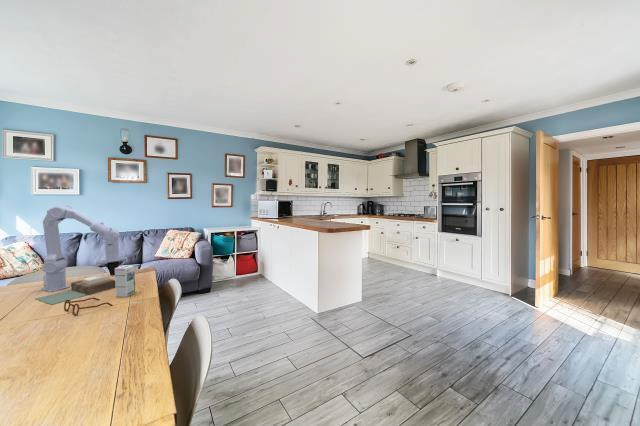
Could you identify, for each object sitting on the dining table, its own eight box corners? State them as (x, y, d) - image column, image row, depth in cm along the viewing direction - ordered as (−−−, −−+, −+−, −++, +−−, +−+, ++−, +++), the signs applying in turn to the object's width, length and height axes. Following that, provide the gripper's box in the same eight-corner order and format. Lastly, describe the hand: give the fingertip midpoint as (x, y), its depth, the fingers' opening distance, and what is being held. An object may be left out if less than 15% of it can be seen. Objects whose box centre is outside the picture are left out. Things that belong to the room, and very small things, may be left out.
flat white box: (82, 282, 135) (82, 278, 135) (102, 278, 143) (102, 274, 143) (88, 284, 133) (88, 280, 133) (108, 279, 141) (108, 275, 141)
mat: (34, 299, 123) (34, 298, 123) (70, 290, 134) (70, 289, 134) (51, 304, 116) (51, 304, 116) (87, 295, 128) (87, 294, 128)
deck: (71, 290, 135) (71, 282, 135) (98, 283, 146) (98, 276, 146) (88, 295, 129) (88, 287, 128) (115, 287, 140) (115, 280, 139)
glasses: (63, 310, 111) (62, 299, 111) (99, 300, 123) (99, 290, 123) (76, 317, 105) (76, 305, 105) (114, 306, 117) (113, 295, 117)
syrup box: (126, 297, 127) (126, 268, 126) (115, 296, 127) (114, 267, 126) (135, 293, 132) (134, 265, 132) (124, 292, 132) (123, 264, 132)
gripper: (101, 254, 136) (101, 279, 137) (130, 249, 150) (130, 272, 150) (93, 253, 139) (94, 278, 140) (123, 248, 153) (123, 271, 153)
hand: (112, 275), depth 145 cm, fingers closed
